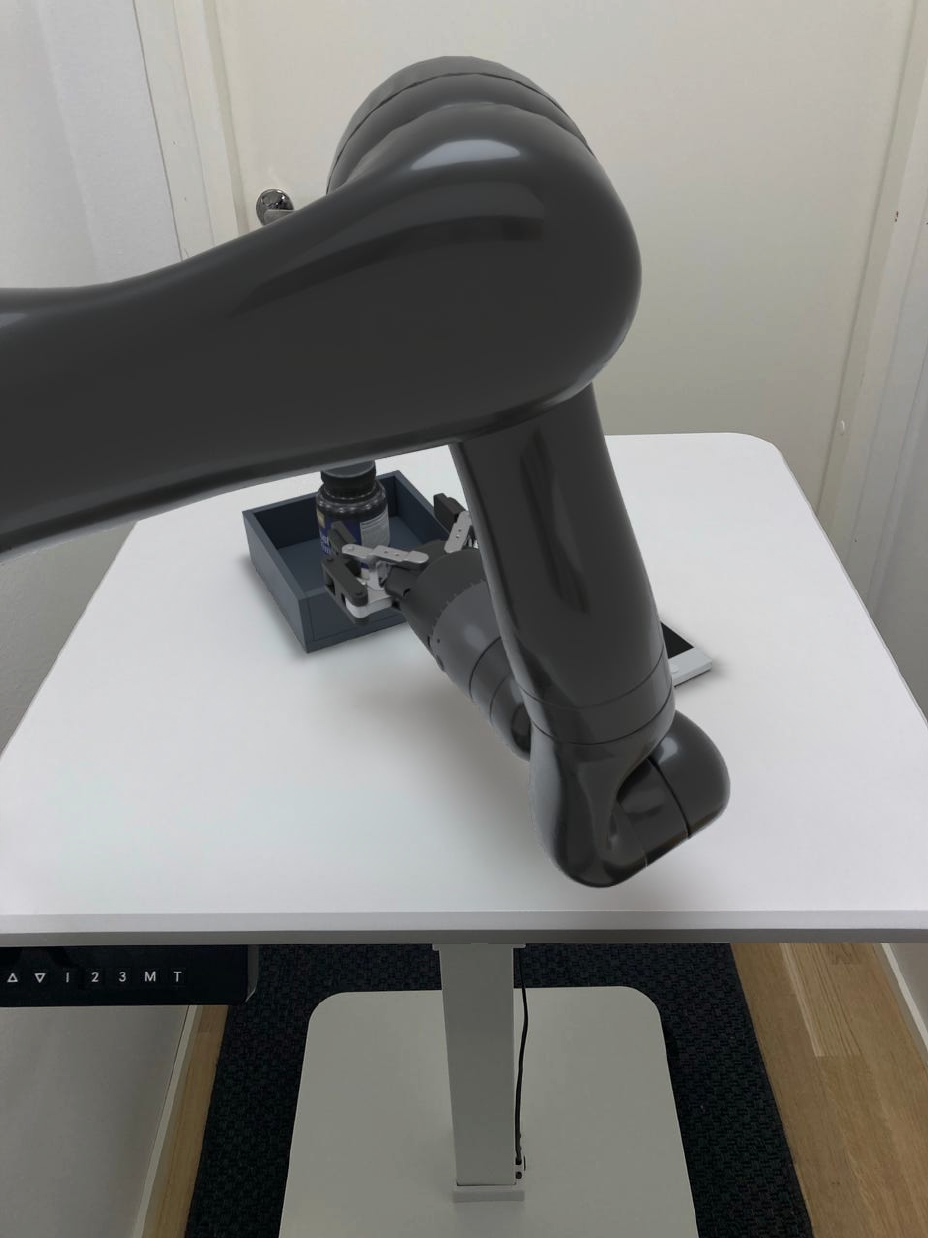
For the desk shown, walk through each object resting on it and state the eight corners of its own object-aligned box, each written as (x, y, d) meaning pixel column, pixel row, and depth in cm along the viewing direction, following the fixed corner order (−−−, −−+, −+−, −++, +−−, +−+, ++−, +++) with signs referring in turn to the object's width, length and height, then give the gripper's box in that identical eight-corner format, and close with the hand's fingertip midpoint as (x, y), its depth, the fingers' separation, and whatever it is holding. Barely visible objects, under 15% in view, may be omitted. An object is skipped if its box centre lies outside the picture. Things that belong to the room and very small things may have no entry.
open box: (306, 653, 81) (297, 600, 78) (251, 561, 92) (241, 510, 89) (473, 599, 86) (472, 547, 83) (402, 518, 98) (398, 469, 94)
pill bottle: (311, 573, 89) (295, 464, 82) (361, 545, 92) (349, 438, 85) (356, 599, 85) (344, 488, 78) (407, 569, 89) (398, 460, 82)
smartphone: (643, 701, 75) (644, 691, 74) (529, 601, 86) (529, 592, 85) (713, 668, 78) (714, 658, 77) (594, 575, 88) (594, 567, 88)
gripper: (580, 553, 64) (468, 452, 76) (381, 617, 59) (293, 498, 71) (575, 642, 69) (470, 534, 80) (389, 708, 64) (306, 582, 76)
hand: (387, 517), depth 76 cm, fingers open, 8 cm apart
